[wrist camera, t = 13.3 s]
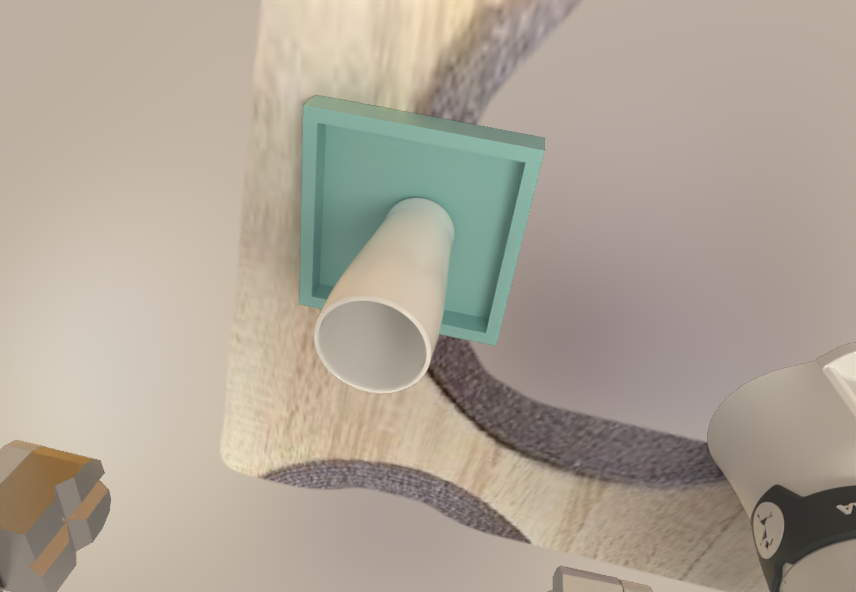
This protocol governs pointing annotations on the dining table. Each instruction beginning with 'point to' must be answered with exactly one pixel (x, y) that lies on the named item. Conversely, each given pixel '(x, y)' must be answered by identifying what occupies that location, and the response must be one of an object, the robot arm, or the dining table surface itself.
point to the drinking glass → (389, 301)
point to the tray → (416, 178)
